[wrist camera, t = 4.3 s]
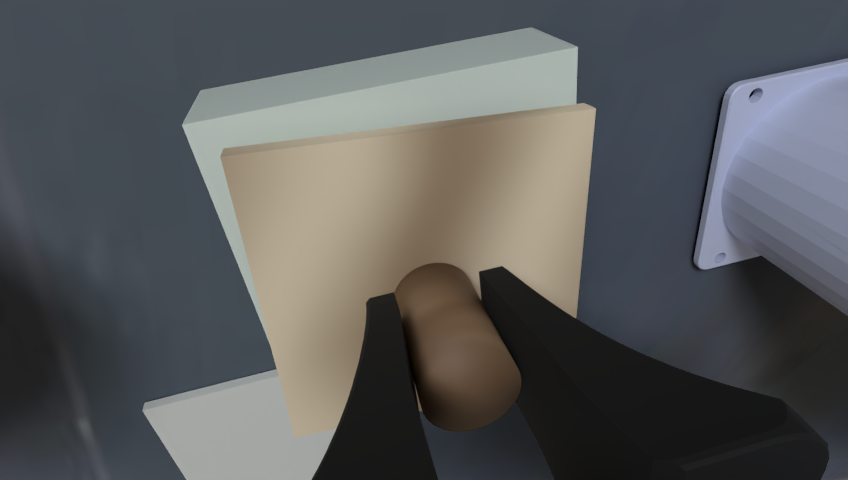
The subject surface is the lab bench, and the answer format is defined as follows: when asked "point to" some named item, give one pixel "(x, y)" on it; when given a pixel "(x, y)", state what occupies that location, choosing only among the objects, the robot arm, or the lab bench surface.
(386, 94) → the dish
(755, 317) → the lab bench surface
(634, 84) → the lab bench surface
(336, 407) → the lid
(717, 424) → the robot arm
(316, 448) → the mat
